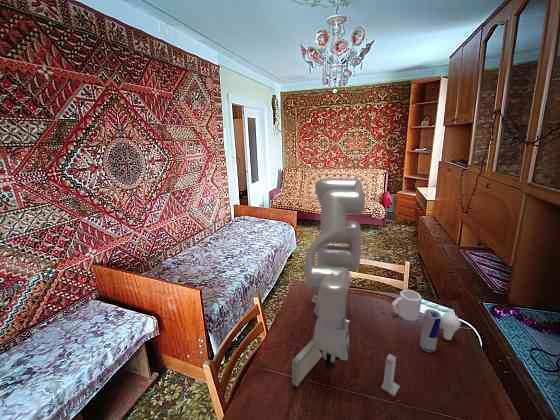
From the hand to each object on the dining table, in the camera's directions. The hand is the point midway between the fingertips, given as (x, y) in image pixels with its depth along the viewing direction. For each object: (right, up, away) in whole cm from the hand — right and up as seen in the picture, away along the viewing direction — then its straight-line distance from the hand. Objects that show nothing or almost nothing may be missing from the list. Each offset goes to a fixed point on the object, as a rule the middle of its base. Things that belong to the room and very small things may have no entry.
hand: (329, 368), depth 81 cm
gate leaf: (-5, -3, +6) cm, 8 cm away
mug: (+39, +4, +31) cm, 50 cm away
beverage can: (+38, -1, +14) cm, 41 cm away
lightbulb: (+48, 0, +18) cm, 52 cm away
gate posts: (+10, -3, +7) cm, 13 cm away
